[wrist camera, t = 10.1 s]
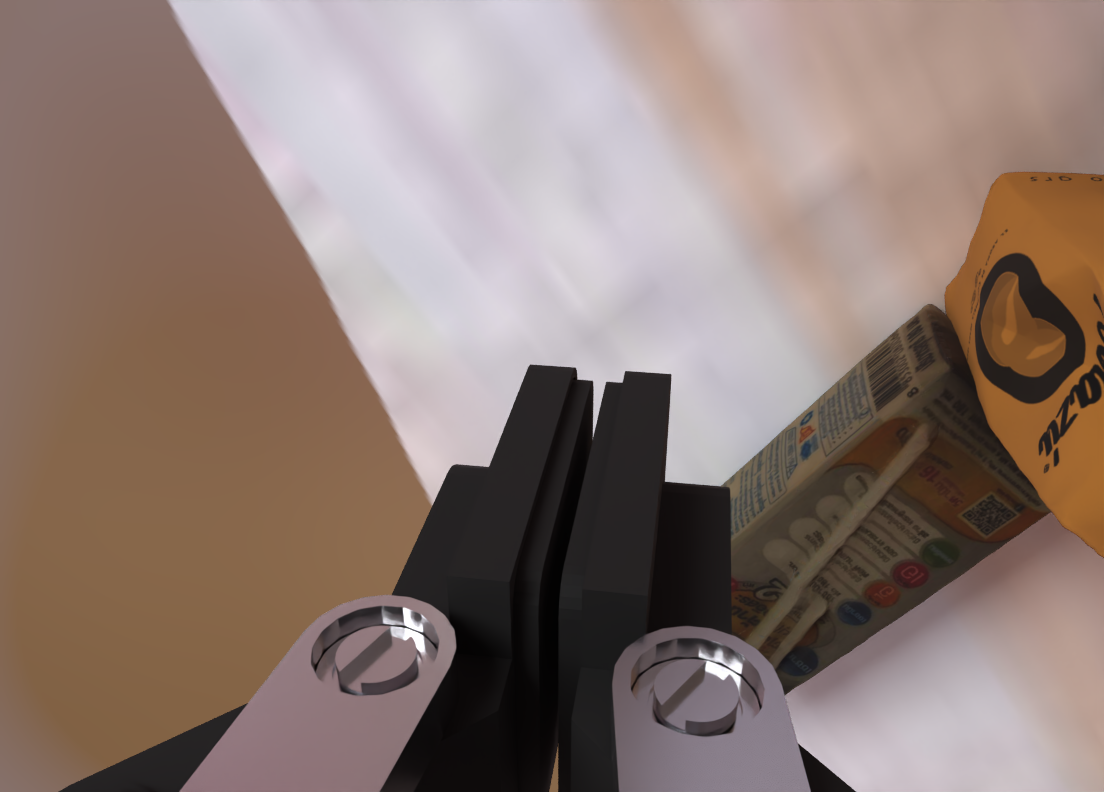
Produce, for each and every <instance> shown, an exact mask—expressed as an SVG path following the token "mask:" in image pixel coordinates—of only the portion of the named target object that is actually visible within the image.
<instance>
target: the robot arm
mask: <svg viewBox="0 0 1104 792" xmlns="http://www.w3.org/2000/svg"><path fill="white" fill-rule="evenodd" d="M670 391H671V374H659V373H645V372H630V371H625V375H624V379H623V383H616V382H606V385H605V389H604V394H603V398H602V402H601V407H600V411H599V415H598V420H597V424H596V428H595V433H594V437H593V381H588V380H577V370H576V368H572V367H557V366H543V365H530V366H529V367H528V369H527V372H526V375H525V377H524V380H523V382H522V385H521V387H520V390H519V392H518V395H517V397H516V400H515V402H514V405H513V408H512V410H511V413H510V415H509V418H508V420H507V423H506V425H505V428H504V430H503V433H502V435H501V438H500V441H499V443H498V446H497V448H496V451H495V453H494V456H493V458H492V461H491V463H490V466H489V467H482V466H470V465H458V464H456V465H453V466H452V467H451V468H450V470H449V472H448V473H447V475H446V478H445V480H444V482H443V484H442V486H441V488H440V491H439V493H438V495H437V497H436V499H435V502H434V504H433V506H432V508H431V510H430V512H429V515H428V517H427V519H426V521H425V524H424V526H423V528H422V530H421V532H420V534H419V536H418V539H417V541H416V543H415V545H414V547H413V550H412V552H411V554H410V556H409V558H408V561H407V563H406V565H405V567H404V569H403V571H402V574H401V576H400V578H399V580H398V582H397V584H396V587H395V589H394V591H393V593H392V595H381V596H372V597H363V598H360V599H357V600H354V601H350V602H348V603H344V604H341V605H339V606H337V607H335V608H334V609H332V610H330V611H328V612H327V613H325V614H323V615H321V616H320V617H319V618H318V619H316V620H315V621H314V622H313V623H312V624H311V625H310V626H309V627H308V628H307V629H306V630H305V631H304V632H303V634H302V635H301V636H300V637H299V639H298V640H297V641H296V642H295V644H294V645H293V646H292V648H291V649H290V650H289V651H288V653H287V654H286V655H285V657H284V658H283V659H282V660H281V662H280V663H279V664H278V666H277V667H276V668H275V669H274V671H273V672H272V673H271V674H270V676H269V677H268V678H267V680H266V681H265V682H264V683H263V685H262V686H261V687H260V689H259V690H258V692H256V694H255V695H254V696H253V698H252V699H251V700H250V701H249V703H247V704H245V705H243V706H241V707H238V708H236V709H234V710H232V711H230V712H227V713H225V714H223V715H221V716H219V717H217V718H214V719H212V720H210V721H208V722H206V723H204V724H201V725H199V726H197V727H195V728H193V729H191V730H188V731H186V732H184V733H182V734H180V735H178V736H175V737H173V738H171V739H169V740H167V741H165V742H163V743H160V744H158V745H156V746H154V747H152V748H149V749H147V750H145V751H143V752H141V753H139V754H137V755H134V756H132V757H130V758H128V759H126V760H123V761H121V762H119V763H117V764H115V765H113V766H110V767H108V768H106V769H104V770H102V771H100V772H97V773H95V774H93V775H91V776H89V777H87V778H85V779H83V780H80V781H78V782H76V783H74V784H71V785H69V786H68V787H66V788H64V789H63V790H61V791H59V792H549V789H550V784H551V778H552V774H553V768H554V763H555V758H556V753H557V747H558V758H559V760H558V777H559V778H558V792H856V791H854V790H853V789H852V788H851V787H850V786H848V785H847V784H846V783H845V782H844V781H842V780H841V779H840V778H839V777H838V776H836V775H835V774H834V773H833V772H832V771H830V770H829V769H828V768H827V767H826V766H824V765H823V764H822V763H821V762H820V761H818V760H817V759H816V758H815V757H814V756H812V755H811V754H810V753H809V752H808V751H806V750H805V749H804V748H803V747H802V746H800V745H799V744H798V743H797V739H796V735H795V732H794V728H793V724H792V721H791V717H790V713H789V710H788V706H787V702H786V699H785V695H784V691H783V688H782V684H781V682H780V680H779V678H778V676H777V674H776V672H775V670H774V668H773V666H772V665H771V664H770V663H769V661H768V660H767V659H766V658H765V657H764V656H763V655H762V654H761V653H760V652H759V651H758V650H757V649H756V648H754V647H752V646H751V645H749V644H747V643H746V642H744V641H742V640H741V639H739V638H737V637H736V636H733V635H732V599H731V497H730V488H729V487H720V486H708V485H696V484H684V483H672V482H665V470H666V454H667V438H668V423H669V407H670ZM592 440H593V441H592Z"/></svg>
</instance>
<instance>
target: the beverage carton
mask: <svg viewBox="0 0 1104 792" xmlns="http://www.w3.org/2000/svg"><path fill="white" fill-rule="evenodd" d="M721 487H729V488H730V497H731V599H732V635H733V636H736V637H737V638H739V639H741V640H742V641H744V642H746V643H747V644H749V645H751V646H752V647H754V648H756V649H757V650H758V651H759V652H760V653H761V654H762V655H763V656H764V657H765V658H766V659H767V660H768V661H769V663H770V664H771V665H772V666H773V668H774V670H775V672H776V674H777V676H778V678H779V680H780V682H781V684H782V688H783V691H784V695H786V694H787V693H789V692H790V691H791V690H793V689H794V688H795V687H797V686H799V685H800V684H802V683H804V682H805V681H807V680H809V679H810V678H812V677H813V676H815V675H816V674H818V673H819V672H820V671H822V670H823V669H824V668H826V667H827V666H829V665H830V664H832V663H833V662H835V661H836V660H837V659H839V658H840V657H842V656H844V655H846V654H847V653H849V652H850V651H852V650H853V649H854V648H855V647H857V646H858V645H860V644H861V643H863V642H865V641H866V640H867V639H868V638H870V637H871V636H873V635H874V634H876V633H877V632H879V631H880V630H881V629H883V628H884V627H886V626H888V625H889V624H891V623H892V622H894V621H895V620H897V619H898V618H900V617H901V616H903V615H904V614H905V613H907V612H908V611H910V610H911V609H913V608H914V607H916V606H917V605H919V604H920V603H922V602H923V601H925V600H926V599H927V598H929V597H930V596H931V595H933V594H934V593H936V592H937V591H938V590H940V589H941V588H943V587H944V586H946V585H947V584H949V583H950V582H952V581H953V580H955V579H956V578H958V577H959V576H961V575H962V574H963V573H965V572H966V571H968V570H969V569H970V568H972V567H973V566H975V565H976V564H977V563H978V562H980V561H981V560H982V559H984V558H985V557H987V556H988V555H990V554H991V553H993V552H994V551H996V550H997V549H999V548H1000V547H1002V546H1003V545H1004V544H1005V543H1007V542H1008V541H1010V540H1011V539H1013V538H1014V537H1016V536H1017V535H1019V534H1020V533H1022V532H1023V531H1025V530H1026V529H1027V528H1029V527H1030V526H1031V525H1033V524H1034V523H1036V522H1037V521H1038V520H1040V519H1041V518H1043V517H1044V516H1046V515H1047V514H1048V513H1050V512H1051V510H1050V509H1049V508H1047V506H1046V504H1045V503H1044V502H1043V501H1042V499H1041V498H1040V497H1039V495H1038V492H1037V490H1036V489H1035V488H1034V486H1033V485H1032V483H1031V482H1030V481H1029V479H1028V478H1027V477H1026V476H1025V475H1024V473H1023V472H1022V471H1021V470H1020V469H1019V467H1018V465H1017V464H1016V462H1015V460H1014V459H1013V458H1012V456H1011V455H1010V453H1009V452H1008V451H1007V450H1006V448H1005V447H1004V446H1003V444H1002V443H1001V441H1000V440H999V438H998V437H997V436H996V435H995V433H994V432H993V431H992V430H991V428H990V426H989V424H988V422H987V419H986V416H985V413H984V410H983V407H982V405H981V403H980V400H979V397H978V393H977V388H976V384H975V381H974V378H973V375H972V372H971V369H970V367H969V364H968V362H967V359H966V356H965V354H964V351H963V349H962V346H961V343H960V340H959V338H958V335H957V333H956V331H955V329H954V327H953V324H952V322H951V320H950V319H949V318H948V316H947V315H945V314H944V313H943V312H942V311H941V310H939V309H938V308H937V307H936V306H934V305H932V304H928V305H926V306H924V307H923V308H922V309H921V310H920V311H919V312H918V313H917V314H916V315H915V316H914V317H912V318H911V319H910V320H908V321H907V322H906V323H905V324H903V325H902V326H901V327H900V328H898V329H897V330H896V331H895V332H894V333H893V334H892V335H890V336H889V337H888V338H887V339H886V340H885V341H883V342H882V343H881V344H880V345H879V346H878V347H876V348H875V349H874V350H873V351H872V352H871V353H869V354H868V355H867V356H866V357H865V358H864V359H862V360H861V361H860V362H859V363H858V364H857V365H856V366H855V367H853V368H852V369H851V370H850V371H849V372H848V373H847V374H846V375H845V376H843V377H842V378H841V379H840V380H839V381H838V382H837V383H836V384H834V385H833V386H832V387H831V388H830V389H829V390H828V391H827V392H825V393H824V394H823V395H822V396H821V397H820V398H819V399H818V400H817V401H816V402H815V403H813V404H812V405H811V406H810V407H809V408H808V409H807V410H806V411H804V412H803V413H802V414H801V415H800V416H799V417H797V418H796V419H795V420H794V421H793V422H792V423H791V424H790V425H789V426H787V427H786V428H785V429H784V430H783V431H782V432H781V433H780V434H779V435H778V436H776V437H775V438H774V439H773V440H772V441H771V442H770V443H769V444H768V445H767V446H766V447H765V448H764V449H762V450H761V451H760V452H759V453H758V454H757V455H756V456H754V457H753V458H752V459H751V460H750V461H749V462H748V463H747V464H745V465H744V466H743V467H742V468H741V469H740V470H739V471H738V472H737V473H735V474H734V475H733V476H732V477H731V478H730V479H729V480H727V481H726V482H725V483H724V484H723V485H722V486H721Z"/></svg>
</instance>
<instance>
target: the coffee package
mask: <svg viewBox="0 0 1104 792" xmlns="http://www.w3.org/2000/svg"><path fill="white" fill-rule="evenodd" d="M945 308H946V315H947V316H948V318H949V319H950V320H951V322H952V324H953V327H954V329H955V331H956V333H957V335H958V338H959V340H960V343H961V346H962V349H963V351H964V354H965V356H966V359H967V362H968V364H969V367H970V369H971V372H972V375H973V378H974V381H975V384H976V388H977V393H978V397H979V400H980V403H981V405H982V407H983V410H984V413H985V416H986V419H987V422H988V424H989V426H990V428H991V430H992V431H993V432H994V433H995V435H996V436H997V437H998V438H999V440H1000V441H1001V443H1002V444H1003V446H1004V447H1005V448H1006V450H1007V451H1008V452H1009V453H1010V455H1011V456H1012V458H1013V459H1014V460H1015V462H1016V464H1017V465H1018V467H1019V469H1020V470H1021V471H1022V472H1023V473H1024V475H1025V476H1026V477H1027V478H1028V479H1029V481H1030V482H1031V483H1032V485H1033V486H1034V488H1035V489H1036V490H1037V492H1038V495H1039V497H1040V498H1041V499H1042V501H1043V502H1044V503H1045V504H1046V506H1047V508H1049V509H1050V510H1051V511H1052V512H1053V514H1054V515H1055V517H1056V518H1057V519H1058V521H1059V522H1060V523H1061V525H1062V526H1063V527H1064V528H1066V529H1068V530H1069V531H1071V532H1073V533H1074V534H1076V535H1077V536H1078V537H1080V538H1081V539H1082V540H1083V541H1084V542H1085V543H1086V544H1087V545H1088V546H1090V547H1091V548H1092V549H1094V550H1095V551H1096V552H1097V554H1098V555H1100V556H1102V557H1103V558H1104V175H1096V174H1077V173H1045V172H1014V173H1005V174H1002V175H1001V176H1000V177H999V178H997V179H996V181H995V182H994V183H993V184H992V186H991V188H990V191H989V194H988V196H987V199H986V201H985V204H984V208H983V212H982V215H981V219H980V222H979V224H978V227H977V229H976V232H975V234H974V236H973V238H972V241H971V243H970V246H969V250H968V254H967V258H966V261H965V263H964V264H963V266H962V267H961V269H960V271H959V273H958V275H957V276H956V277H955V278H954V279H953V280H952V281H951V283H950V284H949V285H948V286H947V287H946V292H945Z"/></svg>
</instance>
